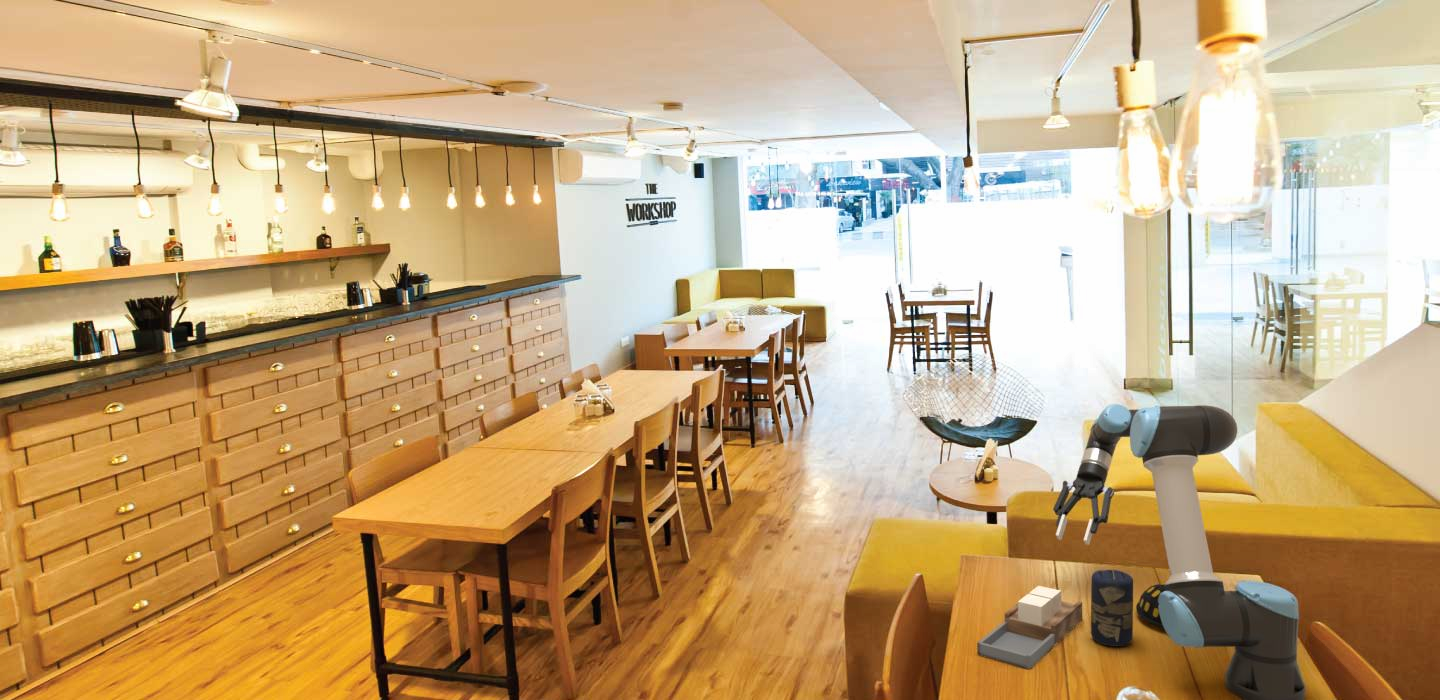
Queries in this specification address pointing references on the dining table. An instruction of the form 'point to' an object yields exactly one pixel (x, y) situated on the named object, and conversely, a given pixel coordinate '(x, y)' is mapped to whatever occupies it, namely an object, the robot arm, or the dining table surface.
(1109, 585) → the canister
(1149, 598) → the yellow spotted black dome
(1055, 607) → the block
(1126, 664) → the dining table surface
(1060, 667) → the dining table surface
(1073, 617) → the board
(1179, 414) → the robot arm
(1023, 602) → the block
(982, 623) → the dining table surface
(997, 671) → the dining table surface
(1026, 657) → the tray
